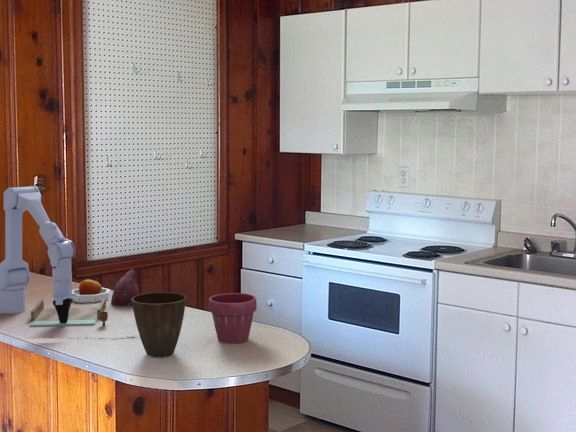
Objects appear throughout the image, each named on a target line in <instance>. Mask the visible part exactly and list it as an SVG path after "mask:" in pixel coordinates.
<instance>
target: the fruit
mask: <svg viewBox="0 0 576 432" xmlns="http://www.w3.org/2000/svg"><path fill="white" fill-rule="evenodd" d="M101 288H103V286H102V284H100V282H98V281H96V280H93V279H88V278H87V279H84V280H82V281H80V283H79V286H78V289H79V293H80V295H95V294H99V293H100V291H101Z"/></svg>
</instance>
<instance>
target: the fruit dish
mask: <svg viewBox="0 0 576 432" xmlns="http://www.w3.org/2000/svg"><path fill="white" fill-rule="evenodd" d="M72 293H76V296H71V297H69V298H73V301H72V302H75V303H80V304H81V303H99V302H101V301H102V299H106V301H108V300H110V298H111V288H106V287H102V288H101V291H100V293H99V294H95V295H80V293H79V288H75V289H72Z"/></svg>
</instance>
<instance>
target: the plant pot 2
mask: <svg viewBox="0 0 576 432" xmlns="http://www.w3.org/2000/svg"><path fill="white" fill-rule="evenodd" d="M257 304H258V303H257V297H256V296H255V295H254V294H249V293H243V292H229V293H220V294H215V295H211V296H210V297H209V298H208V310H209V312H210V313H211V314H212V319H213V325H214V328H215V333H216V337H217V341H218V342H220V343H224V344H232V343H233V344H242V343H245V342H248V341H249V336H250V333H251V329H252V328H251V327H252V323H253V317H254V313H255V312H256V311H257V310H258V309H257V307H258V305H257Z"/></svg>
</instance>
